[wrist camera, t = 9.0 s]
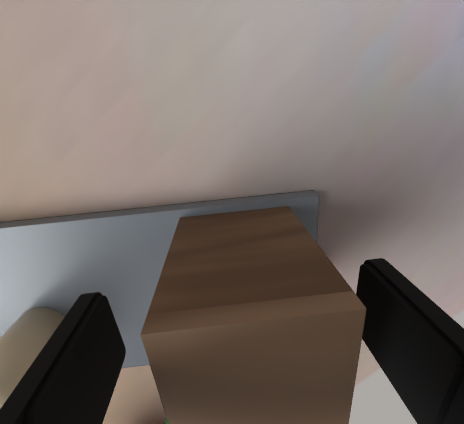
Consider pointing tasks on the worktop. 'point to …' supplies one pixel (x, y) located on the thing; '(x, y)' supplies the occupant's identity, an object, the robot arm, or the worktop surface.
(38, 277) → the slate stand
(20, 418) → the robot arm
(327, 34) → the worktop surface
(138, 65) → the worktop surface
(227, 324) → the wooden grain cube
